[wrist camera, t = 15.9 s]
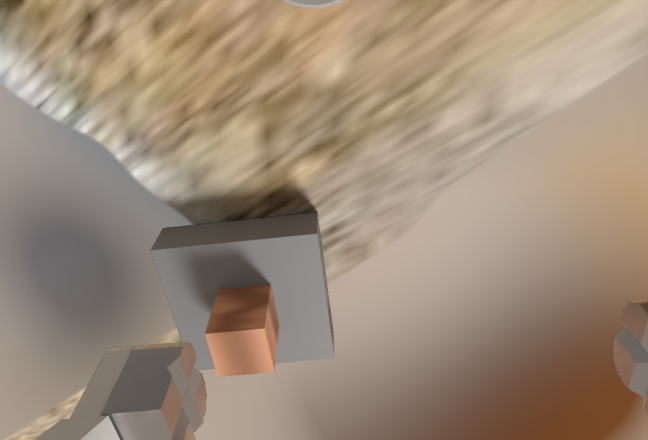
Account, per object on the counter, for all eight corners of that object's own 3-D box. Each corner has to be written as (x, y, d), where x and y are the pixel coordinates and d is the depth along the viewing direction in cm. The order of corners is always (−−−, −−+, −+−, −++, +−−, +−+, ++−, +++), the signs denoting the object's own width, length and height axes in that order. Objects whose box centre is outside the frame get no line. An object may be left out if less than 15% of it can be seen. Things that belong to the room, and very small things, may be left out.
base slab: (317, 212, 45) (317, 233, 42) (333, 331, 52) (334, 358, 49) (163, 228, 46) (150, 250, 42) (199, 343, 53) (191, 370, 50)
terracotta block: (270, 284, 44) (264, 328, 39) (279, 325, 47) (274, 371, 42) (218, 289, 45) (204, 334, 39) (229, 329, 47) (218, 376, 42)
